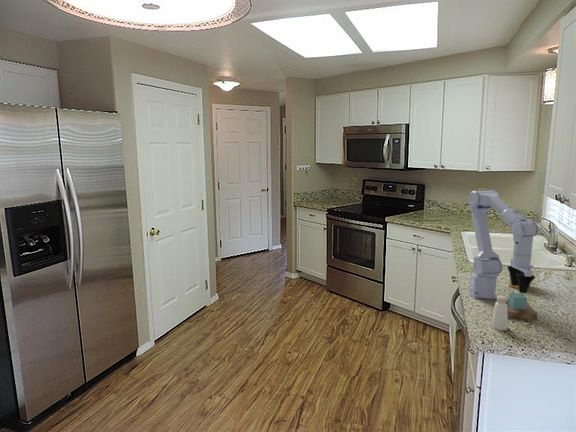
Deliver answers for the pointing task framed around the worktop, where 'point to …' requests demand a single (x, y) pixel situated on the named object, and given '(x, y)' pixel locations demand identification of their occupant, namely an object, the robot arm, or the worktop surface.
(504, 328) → the pepper shaker
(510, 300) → the teal cube
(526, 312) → the walnut block
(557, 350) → the worktop surface
